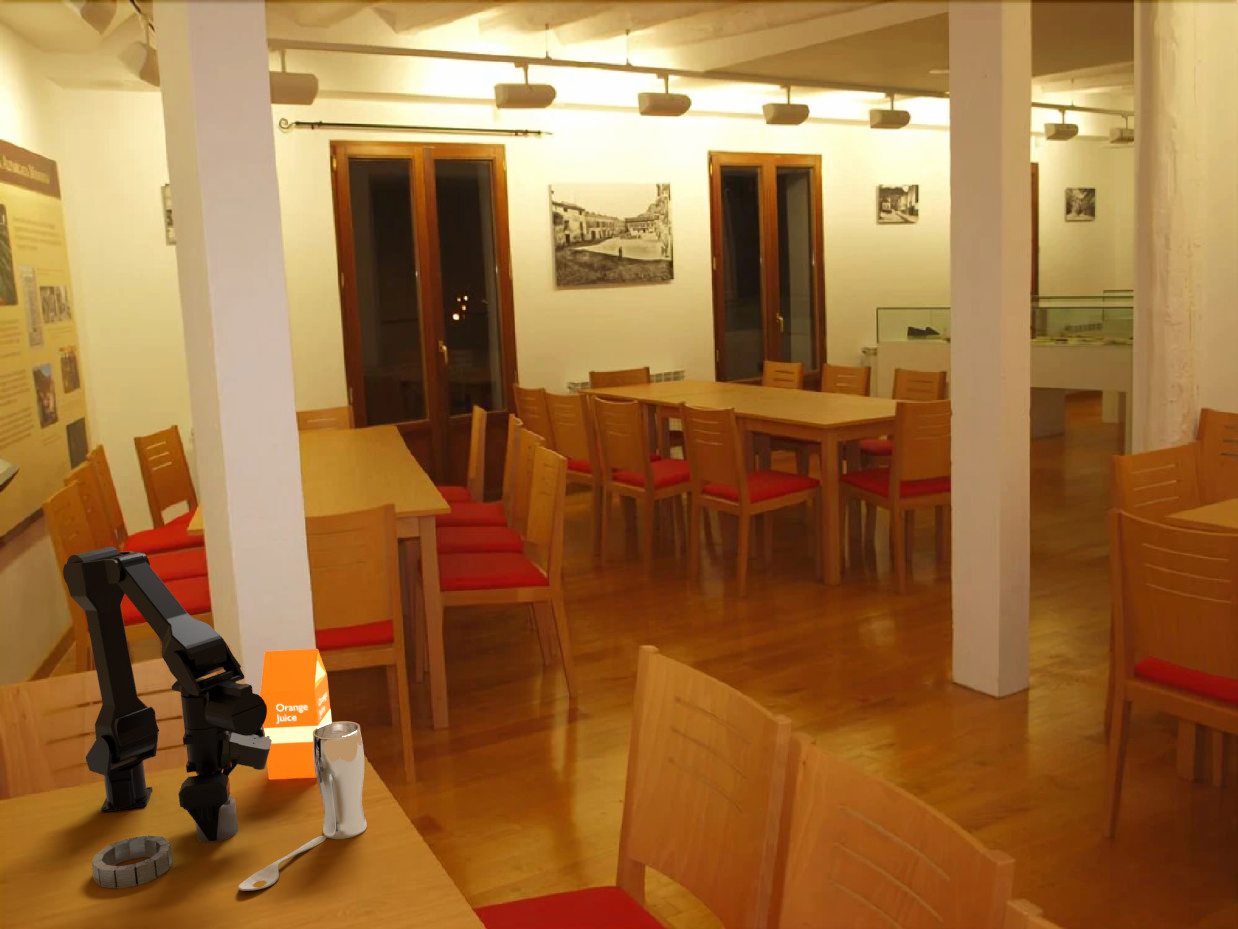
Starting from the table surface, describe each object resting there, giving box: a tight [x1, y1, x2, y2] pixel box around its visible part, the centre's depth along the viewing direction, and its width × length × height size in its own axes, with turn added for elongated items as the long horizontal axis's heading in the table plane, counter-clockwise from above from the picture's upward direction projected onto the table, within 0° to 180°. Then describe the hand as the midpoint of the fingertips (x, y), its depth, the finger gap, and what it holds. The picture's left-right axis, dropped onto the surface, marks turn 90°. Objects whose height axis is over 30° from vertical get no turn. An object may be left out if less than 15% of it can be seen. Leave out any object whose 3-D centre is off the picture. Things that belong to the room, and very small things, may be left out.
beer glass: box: [313, 720, 368, 840], centre depth 164 cm, size 7×7×15 cm
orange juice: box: [259, 648, 333, 780], centre depth 187 cm, size 8×9×20 cm
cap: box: [194, 795, 239, 843], centre depth 166 cm, size 6×6×5 cm
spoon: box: [238, 834, 327, 892], centre depth 157 cm, size 4×21×2 cm, turn 158°
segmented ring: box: [91, 835, 173, 890], centre depth 156 cm, size 10×10×2 cm
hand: (216, 826), depth 166 cm, fingers open, 9 cm apart
